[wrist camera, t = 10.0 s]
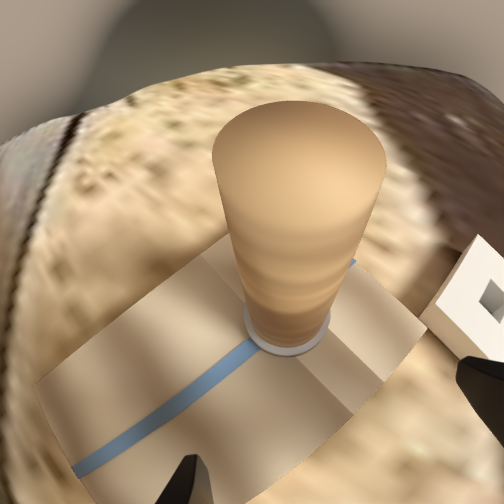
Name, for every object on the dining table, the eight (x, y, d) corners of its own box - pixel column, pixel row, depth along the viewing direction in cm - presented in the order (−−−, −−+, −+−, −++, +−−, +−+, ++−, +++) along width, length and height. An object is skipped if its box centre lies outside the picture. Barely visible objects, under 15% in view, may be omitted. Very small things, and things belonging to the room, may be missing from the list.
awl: (304, 376, 16) (376, 268, 4) (236, 345, 17) (156, 186, 6) (332, 311, 17) (409, 125, 6) (268, 284, 19) (254, 83, 7)
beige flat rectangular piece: (157, 543, 11) (140, 557, 8) (55, 393, 16) (31, 386, 14) (410, 340, 16) (428, 327, 14) (278, 220, 21) (278, 196, 19)
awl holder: (483, 384, 14) (505, 377, 12) (417, 318, 17) (435, 303, 15) (519, 310, 16) (538, 297, 14) (462, 252, 19) (477, 234, 17)
